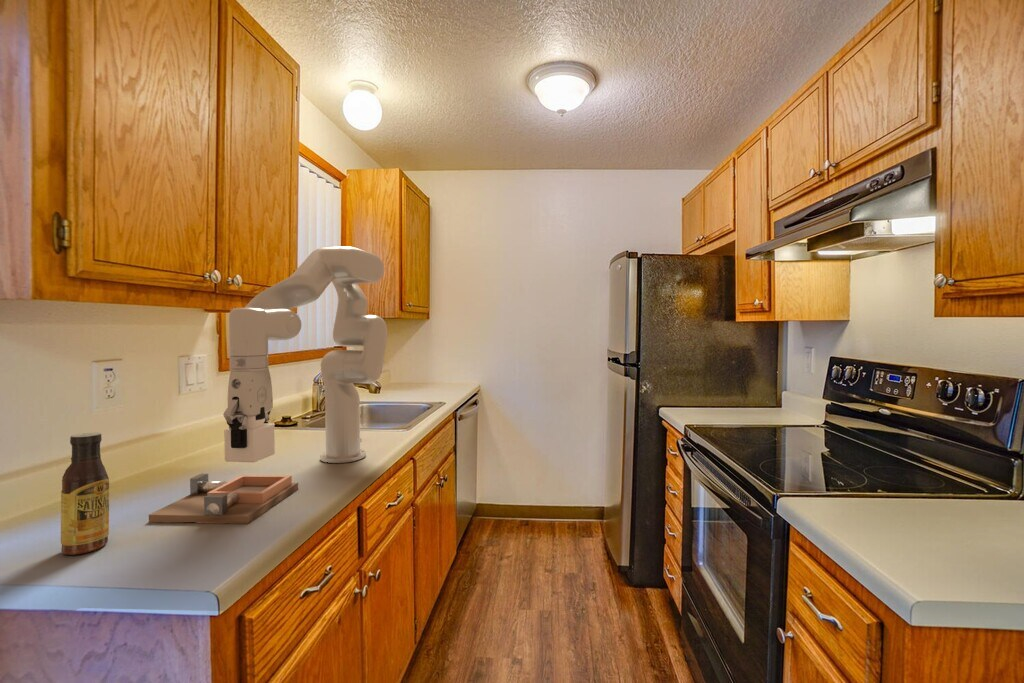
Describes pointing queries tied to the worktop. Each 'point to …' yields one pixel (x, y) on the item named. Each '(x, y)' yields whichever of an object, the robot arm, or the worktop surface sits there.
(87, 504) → the sauce bottle
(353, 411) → the robot arm
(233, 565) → the worktop surface
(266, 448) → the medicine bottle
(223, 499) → the square clamping fixture
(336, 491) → the worktop surface
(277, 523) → the worktop surface
